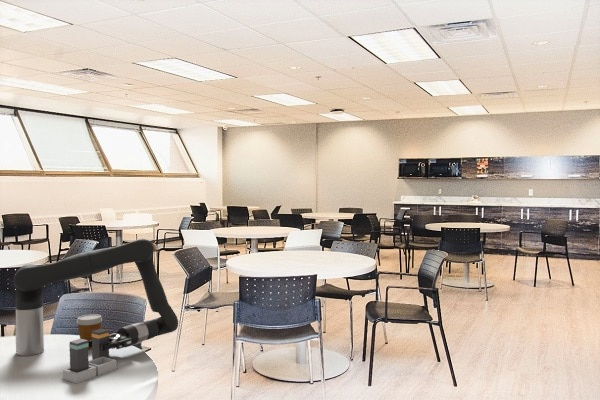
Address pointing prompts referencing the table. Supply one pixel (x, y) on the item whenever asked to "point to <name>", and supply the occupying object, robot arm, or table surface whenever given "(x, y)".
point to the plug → (99, 343)
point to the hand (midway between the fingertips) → (95, 346)
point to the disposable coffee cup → (88, 325)
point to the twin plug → (79, 355)
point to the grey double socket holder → (90, 370)
